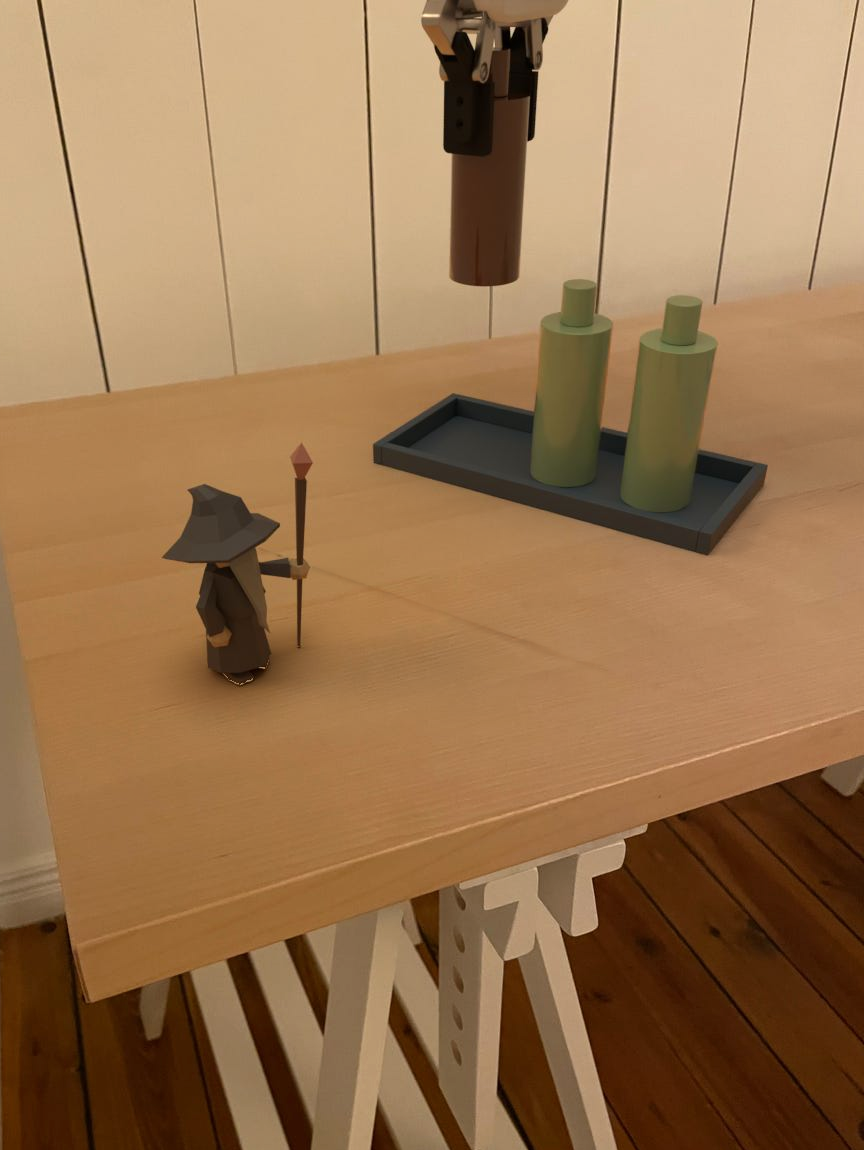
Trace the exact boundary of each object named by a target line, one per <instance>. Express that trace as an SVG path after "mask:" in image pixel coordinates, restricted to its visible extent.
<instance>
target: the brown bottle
mask: <svg viewBox="0 0 864 1150" xmlns="http://www.w3.org/2000/svg"><path fill="white" fill-rule="evenodd" d="M510 61H511V49H509V48H502V47H495V46H493V50H492V57H491V63H490V70H489V76H488V79H487V82H495V92H494V117H493V142H492V152H491V153H490V154H489V155H487V156H484V157H480V156H470V155H460V154H450V155H451V157H450V201H449V202H450V203H449V204H450V205H449V257H448V258H449V260H448V261H449V263H448V264H449V265H448V277H449V279H450V280H451V281H453V282H455V283H457V284H460V285H464V286H471V287H486V288H487V287H500V286H504V285H509V284H512V283H515V282H516V281H518V280H519V279H520V274H521V271H520V270H521V256H522V241H523V239H522V237H523V224H524V223H523V220H524V206H525V205H524V204H525V190H526V189H525V187H526V169H527V153H528V152H527V151H528V142H527V137H528V120H529V103H530V95H529V94H527V93H523V92H516V91H509V82H510Z"/></svg>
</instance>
